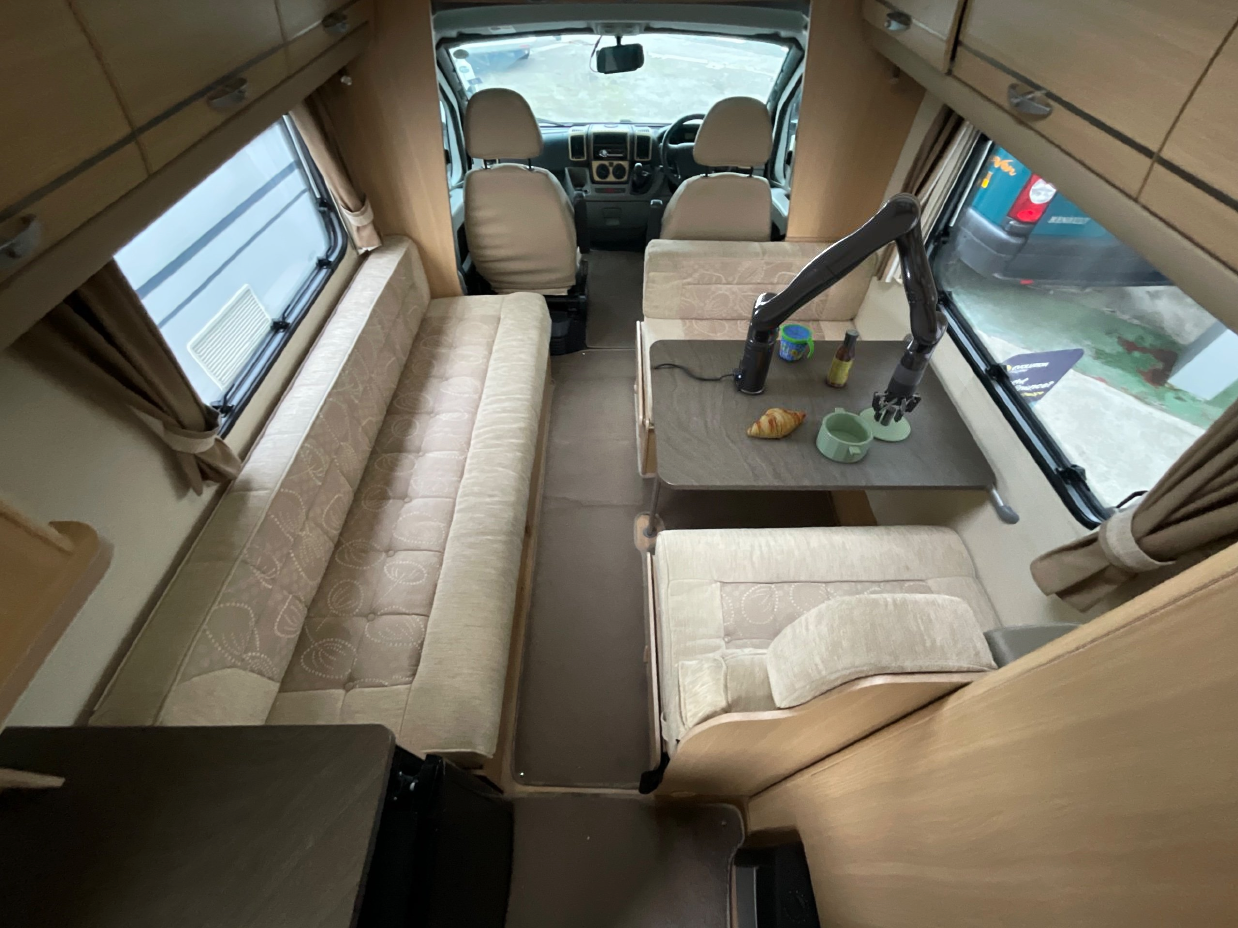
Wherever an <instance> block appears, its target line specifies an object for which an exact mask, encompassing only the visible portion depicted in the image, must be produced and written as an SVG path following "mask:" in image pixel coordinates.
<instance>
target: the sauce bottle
mask: <svg viewBox="0 0 1238 928" xmlns="http://www.w3.org/2000/svg"><path fill="white" fill-rule="evenodd" d="M859 336H860V332H859V331H858V330H857V329H853V328H849V329H846V331H845V332H844V338H843V341H842V343H841V344H840V345H838V347H837V348H836V351H835V354H834V356H833V359H832V362H831V365H830V368H829V371H828V374H827V379H826V382H827V384H828V385H829V386H830V387H834V388H842V387H844V386H845V385H846V383H847V380H848V377H849V375H850V372H851V368H852V366H853V363H854V360H855V357H856V342H857V340H858V338H859Z"/></svg>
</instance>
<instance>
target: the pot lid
mask: <svg viewBox="0 0 1238 928" xmlns="http://www.w3.org/2000/svg"><path fill="white" fill-rule="evenodd" d="M896 412H897V409H896V407H895V406H894V405H893V406H890V407H889V408H888V409H886V410H885V411H884V412H882V413H883V414H882V416H881V418H880V420H879V422H876V420H875V419H874V414H875V411H874V410H873V407H869V408H866V409H863V411H861V412H860V414H859V415H858V416H860V417H862V418H864V419H865V420H867V421H868V422H869V423H870V424H871V425H872V428H873V430H874V436H873V438H876V439H878V440H880V441H881V440H882V441H886V442H899V441H904V440H905V439H906V438H908V437H909V435H910V433H911V426H910V423H909V422H908V421H907V419H906V418H905V417H904V416H902V418H901V420H900V421H898V422H895V421H894V416H895V414H896Z"/></svg>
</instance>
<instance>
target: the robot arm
mask: <svg viewBox="0 0 1238 928" xmlns="http://www.w3.org/2000/svg"><path fill="white" fill-rule="evenodd" d="M921 213H922V205H921V201H920V199H919V198H918V197H917V196H916V195H914V194H912V193H910V192H898V193H896V194H894V195H893V196H891V197H890V198H889V199H888V200H887V201H886V202H885V203H884V205H883V206H882V208H881V209H879V211H878V212H877V213H876V214H874V216H873V217H871V218H870V219H869V220H868V221H867V222H866V223H864V224H863V225H862V226H861V227H859V228H858V229H857V230H856V231H854V232H853V233H851V234H849V235H847V236H846V237H844V238H841V239H840V240H838V241H836V242H835V243H832V245H830V246H828V247H827V248H826V249H824V250H823V251H822V252H820V253H819V254H818V255H816V256H814V258H812V259H811V260H810V261H809V262H808V263H807V264H806V265H805V266H804V267H803V268H802V269H801V270H800V271H799V272H798V274H797V275H795V277H794V278H793V279H792V281H791V282H790V283H789V284H788V286H786V287H785V288H784V289H783V290H782V291H780V292H779V293H778V294H777V293H776V292H771V291H768V292H764V293H762V294H760V295H759V296H758V297H757V298H756V299H755V301H754V302H753V306H752V311H751V316H750V319H749V325H748V328H747V334H746V337H745V338H746V339H745V344H744V348H743V353H742V356H741V357H740V358H739V363H738V367H733V369H732V373H727V374H723V375H721V376H720V377H715V378H705V377H700V376H697V375H694V374H693V373H691V372H690V371H689V370H688V369H687V368H686V367H684V366H683V365H679V364H675V363H668V362H667V363H666V362H664V363H660V364H657V365H656V366H653V370H656V369H658V368H660V367H664V366H665V367H666V366H669V367H670V366H671V367H675V368H679V369H681V370H683V371H684V372H685V373H687V375H689V376H690V377H691V378H693V379H696V380H700V381H706V382H711V381H712V382H713V381H714V382H715V381H716V382H717V381H721V380H722V379H723V378H727V377H732V379H733V382H735V383H736V385H735V386H736V390H737V392H741V393H743V394H746V395H750V396H755V395H759V394H761V393H762V392H764V390H765V386H766V381H767V378H768V374H769V370H770V366H771V363H772V362H771V361H772V359H773V355H774V351H775V347H776V343H777V340H778V338H777V335H778V331H779V332H780V330H779V328H780V327H781V325H782V324H783V323H785V322H786V321H787V320H788V319H789V318H790V317H791V316H792V315H794V313H796V312H797V311H799V309H801V308H802V307H804V306H805V305H806V304H808V303H810V302H811V301H812V300H814V299H815V298H817V297H818V296H820V295H822V293H824V292H826V291H827V290H828V289H830V288H831V287H833V286H834V285H835V284H837V283H838V282H840V281H841V280H842V279H844V278H845V277H846V276H848V275H849V274H850V273H852V272H853V271H854V270H856V268H858V267H859V266H860V265H861V264H862V263H864V262H865V261H866V260H867V259H868V258H869V257H870V256H872V255H873V254H875V253H876V252H877V251H879V250H880V249H882V248H884V247H886V246H887V245H889V244H890V243H892V242H894V244H895V247H896V251H897V254H898V260H899V266H900V273H901V280H902V284H903V289H904V290H903V291H904V293H905V297H906V301H907V304H908V308H909V326H910V331H911V335H912V339H911V341H910V342H909V344H908V345H907V346H906V348H905V349H904V352H903V354H902V355H901V358H900V360H899V362H898V364H897V365H896V367H895V369H894V371H893V373H892V375H891V378H890V380H889V382H888V384H887V388H886V390H884V391H883V392H879V391H874V392H873V396H872V400H871V408H873V410H874V411H875V414H874V419H875V420H876V422H879V420H880V418H881V416H882V414H883V413H882V412H884V411H885V410H886V409H888V408H889V407H890V406H893V407H894V406H897V407H898V409H896V414H895V416H894V421H895V422H898V421H900V420H901V418H902V417H904V415H905V414H906V413H912V412H913V411H914V410H915V408H916V407H917V406H918V405H919V403H920V402H922V397H921V395H920V394H919V392H916V390H917V388H918V386H919V384H920V382H921V380H922V379H923V376H924V374H925V371H926V368H927V366H928V364H929V362H930V360H931V358H932V355H933V354H934V351H935V349H936V348H937V346H938V345H939V343H940V342H941V340H942V338H943V337H944V335H945V333H946V331H947V329H948V326H949V320H948V317H947V316H946V314H945V313H943V311H942V312H941V311H939V310H936V308H937V304H938V299H939V296H938V291H937V288H936V284H935V280H934V276H933V272H932V269H931V266H930V261H929V259H928V256H927V252H926V248H925V242H924V237H923V230H922V216H921ZM915 392H916V393H915Z"/></svg>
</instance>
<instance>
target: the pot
mask: <svg viewBox="0 0 1238 928" xmlns="http://www.w3.org/2000/svg"><path fill="white" fill-rule="evenodd" d="M873 436H874V430H873V428H872V425H871V424H870V423H869V422H868V421H867V420H865V419H864V418H862V417H860V416H859V415H858V414H857V413H853V412H849V411H845V409H844V407H835V408H834V412H830V413H828V414H827V415H825V416H824V417H823V420H822V422H821V425H820V427H819V430H818V433H817V435H816V439H815V443H816V447H817V449H818V451H819V452H821V453H822V454H823V455H824V456H825V457H826V458H828V459H830V460H832V461H835V462H839V463H846V464H852V463H856V462H859V461H860V460H862V459H863V458H864V457H865V456H866V454H867V452H868V450H869V447H870V446H871V443H872V441H873V439H874V437H873Z"/></svg>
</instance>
